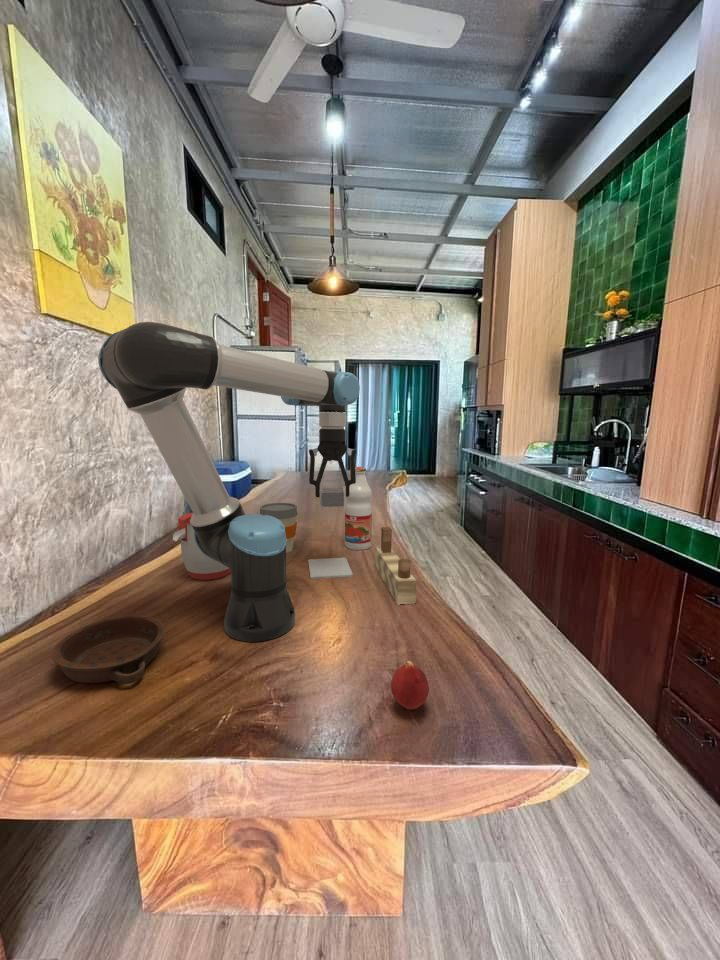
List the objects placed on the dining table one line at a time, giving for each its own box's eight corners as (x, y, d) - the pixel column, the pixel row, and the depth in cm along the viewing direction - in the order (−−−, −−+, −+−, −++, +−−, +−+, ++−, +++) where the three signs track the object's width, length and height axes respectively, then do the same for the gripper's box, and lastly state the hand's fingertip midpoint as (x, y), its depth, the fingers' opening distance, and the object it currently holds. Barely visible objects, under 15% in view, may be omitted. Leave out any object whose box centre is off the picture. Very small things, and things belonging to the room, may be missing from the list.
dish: (71, 718, 61) (67, 688, 60) (43, 657, 76) (40, 633, 75) (186, 667, 73) (184, 642, 72) (142, 623, 88) (141, 602, 87)
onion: (424, 695, 66) (425, 650, 65) (431, 721, 61) (433, 673, 59) (388, 695, 66) (390, 650, 65) (392, 721, 60) (394, 673, 59)
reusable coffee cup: (253, 553, 133) (252, 509, 131) (272, 542, 145) (271, 501, 143) (287, 557, 130) (286, 512, 127) (304, 545, 141) (303, 504, 139)
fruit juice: (375, 544, 144) (377, 467, 139) (363, 552, 135) (364, 470, 131) (352, 540, 148) (353, 465, 143) (339, 547, 140) (340, 468, 135)
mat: (352, 576, 115) (352, 574, 115) (310, 579, 113) (310, 576, 113) (346, 559, 128) (346, 557, 128) (308, 561, 126) (308, 559, 126)
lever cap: (343, 506, 114) (344, 492, 113) (322, 506, 113) (322, 492, 113) (341, 501, 121) (341, 488, 120) (321, 501, 120) (321, 488, 119)
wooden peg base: (415, 603, 99) (417, 553, 97) (397, 605, 98) (399, 553, 96) (389, 565, 124) (390, 524, 122) (375, 566, 123) (376, 524, 121)
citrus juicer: (167, 573, 116) (163, 505, 113) (225, 559, 127) (223, 497, 124) (186, 591, 104) (181, 516, 101) (248, 574, 116) (246, 506, 112)
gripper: (363, 427, 119) (362, 504, 122) (298, 427, 116) (299, 505, 119) (367, 428, 111) (366, 510, 115) (298, 428, 108) (299, 511, 112)
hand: (332, 507), depth 117 cm, fingers closed on lever cap, 6 cm apart
